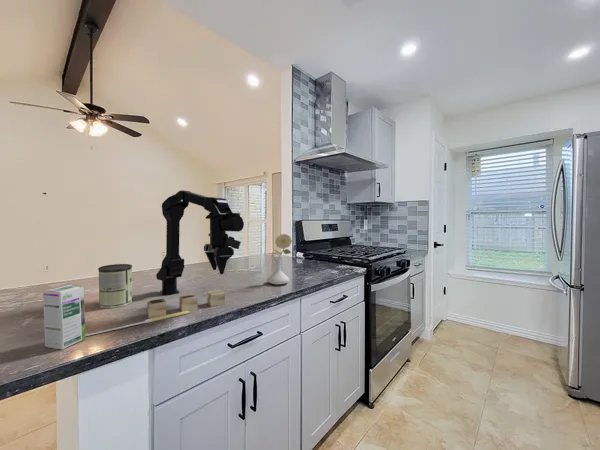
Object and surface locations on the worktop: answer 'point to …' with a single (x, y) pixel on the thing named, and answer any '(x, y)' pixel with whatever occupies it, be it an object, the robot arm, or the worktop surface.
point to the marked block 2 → (188, 302)
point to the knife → (146, 321)
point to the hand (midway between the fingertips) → (218, 271)
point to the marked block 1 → (156, 308)
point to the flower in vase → (278, 275)
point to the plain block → (216, 298)
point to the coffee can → (115, 285)
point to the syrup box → (64, 316)
